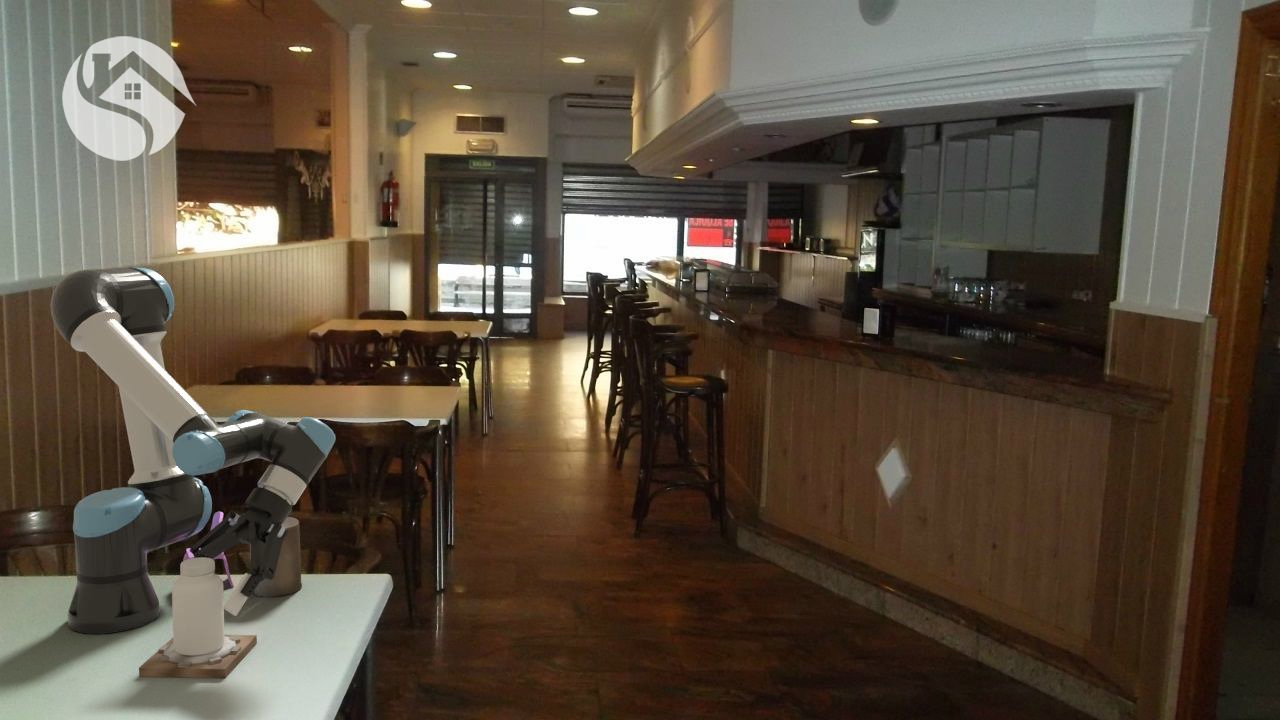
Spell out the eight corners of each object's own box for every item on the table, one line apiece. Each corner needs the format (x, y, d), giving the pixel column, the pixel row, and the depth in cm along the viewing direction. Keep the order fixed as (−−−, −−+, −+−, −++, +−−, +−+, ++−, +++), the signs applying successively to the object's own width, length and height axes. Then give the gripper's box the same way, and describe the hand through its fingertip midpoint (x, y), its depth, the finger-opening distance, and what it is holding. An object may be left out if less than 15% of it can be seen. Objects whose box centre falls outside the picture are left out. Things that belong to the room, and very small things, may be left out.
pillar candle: (310, 582, 214) (308, 511, 212) (286, 599, 205) (283, 524, 203) (266, 579, 216) (263, 509, 214) (241, 596, 206) (237, 522, 204)
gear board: (139, 676, 170) (138, 664, 169) (177, 641, 184) (176, 630, 183) (225, 678, 170) (225, 666, 169) (256, 643, 184) (256, 632, 183)
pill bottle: (235, 645, 178) (232, 560, 176) (192, 661, 171) (189, 573, 169) (206, 634, 182) (203, 551, 180) (163, 649, 175) (160, 563, 173)
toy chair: (183, 582, 213) (180, 511, 211) (229, 576, 217) (226, 506, 215) (187, 596, 206) (184, 522, 204) (234, 589, 210) (232, 516, 208)
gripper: (334, 519, 182) (265, 629, 172) (243, 497, 195) (174, 598, 185) (308, 496, 177) (236, 608, 166) (217, 475, 190) (145, 578, 180)
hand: (203, 603), depth 176 cm, fingers open, 13 cm apart
